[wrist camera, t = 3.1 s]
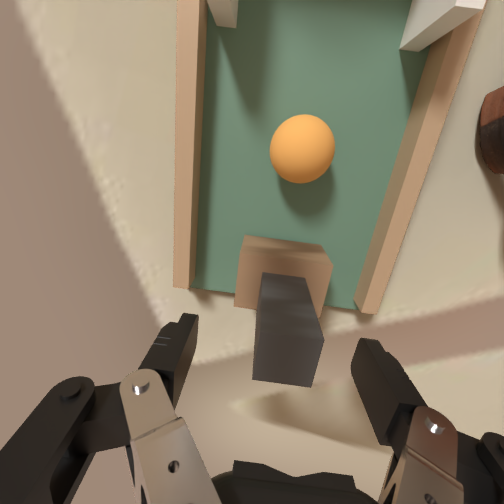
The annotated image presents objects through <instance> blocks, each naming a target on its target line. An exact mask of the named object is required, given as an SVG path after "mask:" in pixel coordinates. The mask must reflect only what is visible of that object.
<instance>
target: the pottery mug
mask: <svg viewBox="0 0 504 504" xmlns="http://www.w3.org/2000/svg"><path fill="white" fill-rule="evenodd" d="M480 119H481V121H480V126H481V128H480V138H481V142H480V147H481V149H482V155H483V157H484V161H485V162H486V164H487V165H488V167H489V168H490V169H491V170H492V171H493V172H494V173H498V174H504V86H503V87H501V88H498V89H497V90H495V91H493V92H490V93H489V94H487V95H486V97H485V99H484V102H483V105H482V110H481V115H480Z"/></svg>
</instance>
